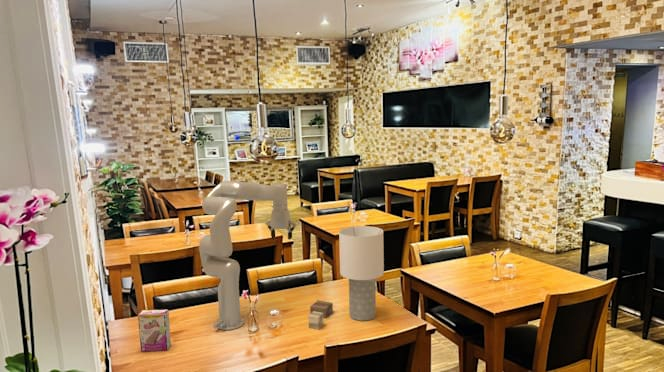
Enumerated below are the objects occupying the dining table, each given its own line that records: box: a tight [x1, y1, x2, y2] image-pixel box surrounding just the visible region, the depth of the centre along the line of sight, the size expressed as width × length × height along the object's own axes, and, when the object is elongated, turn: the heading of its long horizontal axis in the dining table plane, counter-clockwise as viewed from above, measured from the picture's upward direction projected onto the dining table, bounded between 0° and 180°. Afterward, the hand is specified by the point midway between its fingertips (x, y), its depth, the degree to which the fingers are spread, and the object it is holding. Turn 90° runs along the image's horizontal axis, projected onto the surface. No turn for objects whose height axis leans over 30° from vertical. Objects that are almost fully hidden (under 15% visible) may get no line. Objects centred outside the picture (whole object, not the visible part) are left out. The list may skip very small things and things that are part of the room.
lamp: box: [338, 225, 385, 322], centre depth 212 cm, size 21×21×42 cm
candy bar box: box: [137, 309, 172, 353], centre depth 187 cm, size 11×5×16 cm, turn 92°
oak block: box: [308, 311, 325, 331], centre depth 204 cm, size 5×5×6 cm
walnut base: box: [309, 300, 334, 320], centre depth 218 cm, size 8×8×5 cm
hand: (281, 238), depth 242 cm, fingers open, 9 cm apart
